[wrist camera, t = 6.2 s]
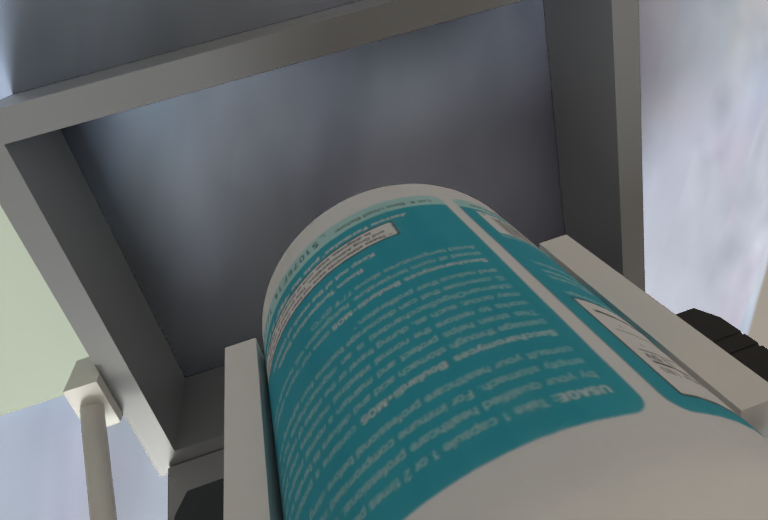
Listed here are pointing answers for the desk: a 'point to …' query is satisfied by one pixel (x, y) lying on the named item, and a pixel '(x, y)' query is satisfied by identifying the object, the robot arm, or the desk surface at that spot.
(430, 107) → the desk surface
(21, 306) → the mat
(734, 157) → the desk surface
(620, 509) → the pill bottle
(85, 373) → the case
